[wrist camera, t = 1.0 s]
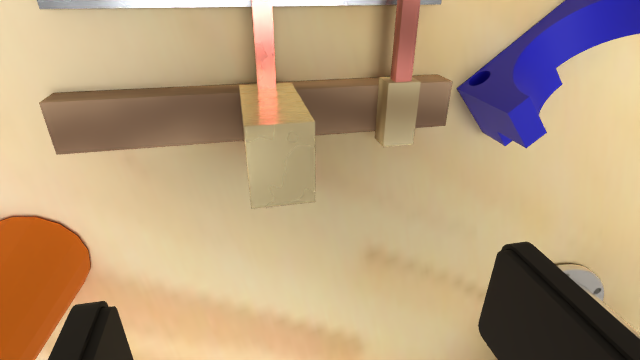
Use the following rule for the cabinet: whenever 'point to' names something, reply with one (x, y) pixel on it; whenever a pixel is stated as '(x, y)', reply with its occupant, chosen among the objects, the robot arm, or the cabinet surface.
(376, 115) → the beam
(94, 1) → the bolt plate
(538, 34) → the cable clip
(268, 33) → the slider
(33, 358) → the spray bottle
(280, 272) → the cabinet surface
